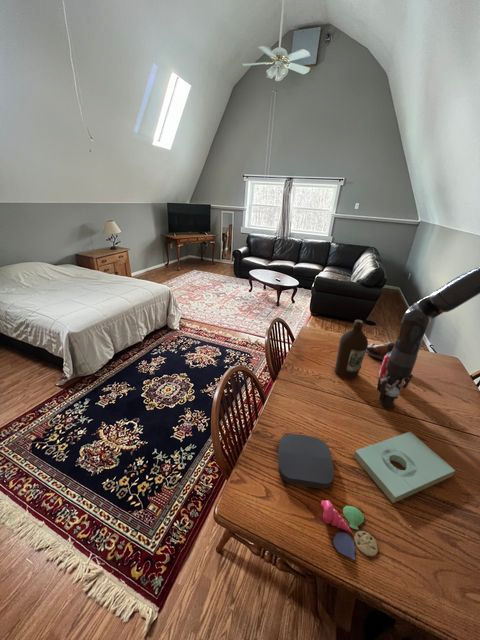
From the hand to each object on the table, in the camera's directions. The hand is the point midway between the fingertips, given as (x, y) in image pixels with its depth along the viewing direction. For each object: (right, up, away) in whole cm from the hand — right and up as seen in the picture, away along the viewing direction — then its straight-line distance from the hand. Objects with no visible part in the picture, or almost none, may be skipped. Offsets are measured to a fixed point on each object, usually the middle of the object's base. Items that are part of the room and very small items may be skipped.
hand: (388, 398), depth 99 cm
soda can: (+7, +4, +14) cm, 16 cm away
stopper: (0, -2, +1) cm, 2 cm away
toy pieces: (-30, -19, -38) cm, 52 cm away
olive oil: (-9, +6, +17) cm, 20 cm away
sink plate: (-9, -13, -22) cm, 27 cm away
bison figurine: (+11, +11, +30) cm, 34 cm away
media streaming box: (-36, -12, -22) cm, 44 cm away
